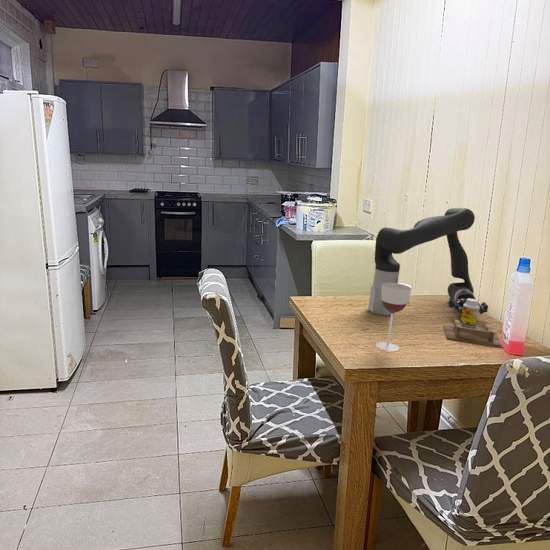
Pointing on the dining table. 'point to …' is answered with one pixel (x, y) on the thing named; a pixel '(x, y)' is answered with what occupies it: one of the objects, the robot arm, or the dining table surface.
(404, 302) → the wineglass
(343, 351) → the dining table surface
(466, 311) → the supplement bottle
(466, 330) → the flat brown tray
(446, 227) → the robot arm
